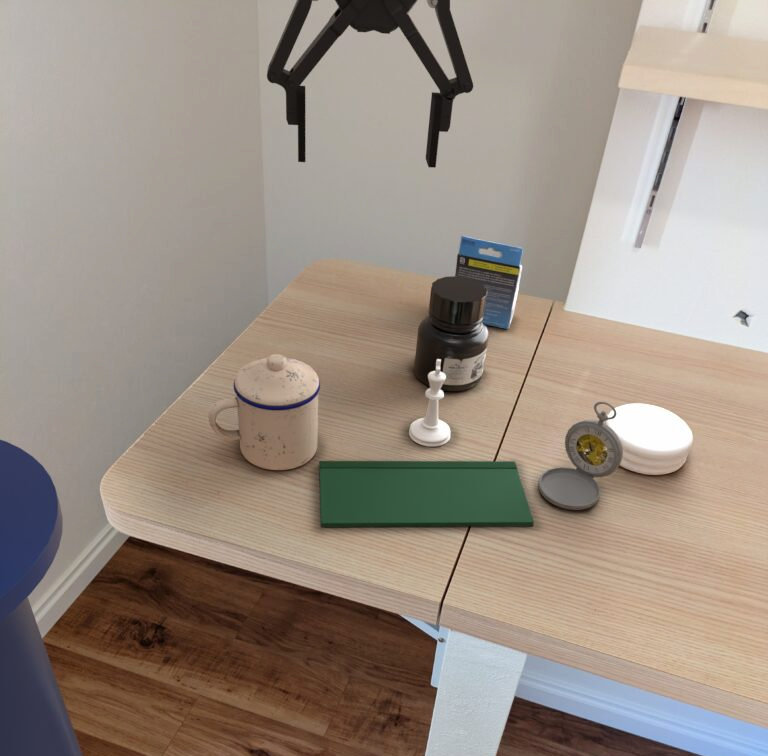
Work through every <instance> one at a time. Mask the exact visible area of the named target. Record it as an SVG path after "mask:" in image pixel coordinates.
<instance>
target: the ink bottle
mask: <svg viewBox="0 0 768 756" xmlns="http://www.w3.org/2000/svg"><path fill="white" fill-rule="evenodd" d="M486 297H487V289H486V288H485V286H484V285H483V284H481V283H479V282H478V281H476V280H473V279H470V278H467V277H459V276H455V275H454V276H452V275H451V276H443V277H440V278H437V279H436V280H435V281H433V282H432V283H431V287H430V296H429V303H428V315H427V316H425V317H424V318H423V319H422V320H421V322H419V325H418V328H417V334H416V336H417V337H416V344H415V345H416V346H415V354H414V365H413V372H414V374H415V376H416V377H417V378H418V379H419V380H420V381H421V382H422V383H423V384H425V385H427V386H429V387H430V383H429V380H428V374H429V373H430V372H432V371H436V361H437V359H441V365H440V372H442V373H444V374H445V376H446V379H445V381H444V383H443V384H442V387H441V390H442V391H446V392H459V391H460V392H461V391H466V390H468V389H471V388H473V387H474V386H476V385H477V384H478V383H479V382H480V381H481V379H482V377H483V374H484V367H485V362H486V355H487V351H488V343H489V336H490V335H489V329H488V327H487V325H486V324H484V323H483V322H482V320H483V316H484V310H485V304H486Z"/></svg>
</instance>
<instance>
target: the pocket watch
mask: <svg viewBox="0 0 768 756" xmlns="http://www.w3.org/2000/svg"><path fill="white" fill-rule="evenodd" d="M599 405H606V406H608V407H609V408H611V409H612V410H613V411H614V415H613V416H612V417H608V414H607V411H606V410H601V412H599V411H598V408H597V407H598V406H599ZM615 408H616V407H614V406H613V405H612V404H610V403H609V402H606V401H598V402H596V403H594V405H593V410H594V413H595V414H596V417H597V419H598V420H597V419H583V420H580V421H577V422H576V423H574V424H572V425H571V427H569V429H568V430H567V432H566V435H565V437H564V447H565V452H566V454H567V456H568V459H569V461H570V462H571V463H572V464H573V466H574V467H575V468H574V467H567V466H558V467H557V466H556V467H553V468H549V469H546V470H545V471H544V472H543V473H541V475H540V477H539V479H538V490H539V492H540V494H541V495H542V497H543V498H545V500H547V502H550V503H551V504H553V505H554V506H556V507H559V508H562V509H564V510H571V511H572V510H573V511H576V510H577V511H578V510H579V511H580V510H584V509H589V508H591V507H592V506H594V505H595V504H597V502H598V501H599V499H600V496H601V487H600V485H599V484H598V482H597V481H596V479H594V478H604V477H608V476H610V475H612V474H613V473H614V472H615V471H616V470H617V469H618V468H619V467H620V463H621V460H622V457H623V449H622V445H621V441H620V440H619V438H618V436H617V434H616V433H615V432H614V431H613V430H612V429H611V428H610V427H609V426H608V425H606V424H605V421H607V420H610V419H614V418H615V417H616V414H617V413H616V410H615ZM603 447H606V449H607V451H606V449H605V448H604V449H605V450H603ZM604 457H606V459H605V458H604Z"/></svg>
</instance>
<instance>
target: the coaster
mask: <svg viewBox="0 0 768 756" xmlns="http://www.w3.org/2000/svg"><path fill="white" fill-rule="evenodd" d="M614 408H615V410H616V413H617V414H616V417H615V418H614V419H610V420H607V421H604V424H606V425H608V426H609V427H610V428H611V429H612V430H613V431H614V432H615V433H616V434H617V436H618V438H619V440H620V441H621V445H622V449H623V457H622V460H621V463H620V465H619V467H622V468H624V469H626V470H628V471H631V472H634V473H638V474H642V475H649V476H661V475H667V474H671V473H674V472H676V471H678V470H679V469H680V468H681V467H683V465H684V464H686V463H685V462H686V461H687V457H688V455H689V453H690V449H691V448H692V446H693V442H694V436H693V432H692V430H691V428H690V427H689V425H688V424H687V423H686V422H685V421H684V420H683V419H682V418H681V417H680V416H678V415H677V414H675V413H673V412H672V411H670V410H668V409H665V408H663V407H659V406H656V405H653V404H647V403H627V404H623V405H619V406H617V407H614ZM613 415H614V411H613V409H612V410H611V411H610V412H609V413H608V414H607V416H608V417H612V416H613ZM604 448H605V449H606V447H603V450H605V449H604ZM606 451H607V449H606Z"/></svg>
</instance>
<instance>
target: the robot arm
mask: <svg viewBox="0 0 768 756" xmlns="http://www.w3.org/2000/svg"><path fill="white" fill-rule="evenodd" d="M295 1H296V2H295V3H294V6H293V8H292V11H291V13H290V15H289V18H288V20H287V23H286V24H285V27H284V29H283V31H282V34H281V36H280V39H279V40H278V42H277V45H276V47H275V50H274V51H273V52H274V53H273V54H272V56H271V59H270V61H269V64H268V66H267V71H266V79H267V81H268V82H269V83H271V84H275V85H279V86H280V87H282V88H283V89H284V91H285V119H286V123H287V125H288V126H297V162H298V163H306V85H302V84H303V82H304V81H305V80H306V79H307V78H308V76H309V75H310V74H311V72H312V71H313V70H314V69H315V67H316V66H317V65H318V63H319V62H320V61H321V60H322V58H324V56H325V55H326V53H327V52H329V50H330V49H331V47H332V46H333V45H334V44H335V43H336V42H337V40H338V39H339V38H340V37H341V36H342V35H343V34H344V32H346V30H347V29H348V28H349V27H351V28H352V29H353V30H355V31H356V32H357V33H368V32H372V31H373V32H378V33H379V34H385V35H390V34H391V33H392V32H395V31H396V30H397V29H400V31H401V32H402V34H403V36H404V38H406V40H407V42H408V43H409V45H410V46H411V48H412V50H413V51H414V52H415V54H416V56H417V57H418V59H419V61H420V62H421V63H422V65H423V67H424V68H425V71H427V73H428V75H429V76H430V78H431V79H432V81H433V82H434V84H435V86H436V87H437V88H438V90H439V92H435V91H434V92H431V98H430V99H431V100H430V109H429V119H428V127H427V129H428V130H427V139H426V150H425V161H426V164H427V167H428V168H436V167H437V160H438V159H437V157H438V149H439V138H440V132H442V133H444V132H445V133H448V132H449V130H450V129H451V121H452V112H453V105H454V104H453V103H454V100H455V99H456V97H457V96H459V95H462V94H464V93H466V94H469V93H471V92H472V91H473V90H474V82H473V78H472V75H471V72H470V68H469V66H468V63H467V59H466V55H465V53H464V49H463V47H462V44H461V40H460V38H459V34H458V31H457V27H456V24H455V21H454V18H453V15H452V12H451V0H426V3H427V5H428V6H429V8H431V9H434V12H435V16H436V18H437V22H438V25H439V29H440V31H441V34H442V37H443V40H444V43H445V46H446V49H447V53H448V56H449V59H450V61H451V66H452V68H453V71H454V74H455V77H453V78H450V79H449V78H448V76H447V74H446V73H445V70H443V68H442V67H441V64H440V63H439V61H438V60H437V58H436V56H435V55H434V54H433V52H432V49H430V47H429V46H428V44H427V42H426V40H425V38H424V37H423V36H422V34H421V32H420V31H419V29H418V27H417V26H416V24H415V23H414V21H413V19H412V18H411V16H410V15H409V13H410V12H411V10H412V9H413V8H414V6H415V5H416V4H417V2H418V1H419V0H334V1H335V3H336V5H337V6H338V7H337V8H336V10H335V11H334V12H333V14H332V15H331V16H330V18H329V19H328V21H327V23H326V24H325V25H324V26H323V28H322V29H321V30H320V31H319V33H317V35H316V37H315V38H314V39H313V40H312V42H311V43H310V44H309V45H308V47H307V48H306V49H305V50H304V52H303V53H302V54H301V56H300V57H299V58H298V59H297V61H296V62H295V63H294V64H293V66H292V67H291V68H290V70H288V69H286V65H287V62H288V60H289V58H290V55H291V53H292V51H293V49H294V47H295V45H296V42H297V41H298V38H299V36H300V33H301V31H302V29H303V27H304V24H305V22H306V20H307V17H308V16H309V13H310V10H311V8H312V5H313V2H318V1H319V0H295Z"/></svg>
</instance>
